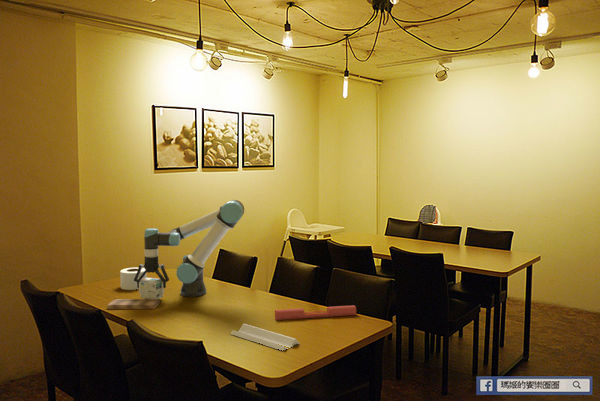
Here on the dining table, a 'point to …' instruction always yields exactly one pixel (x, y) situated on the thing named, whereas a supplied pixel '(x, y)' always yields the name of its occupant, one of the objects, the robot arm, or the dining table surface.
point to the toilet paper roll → (130, 278)
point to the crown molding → (265, 337)
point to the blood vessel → (315, 313)
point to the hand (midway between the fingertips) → (151, 293)
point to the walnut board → (134, 304)
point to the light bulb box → (151, 288)
